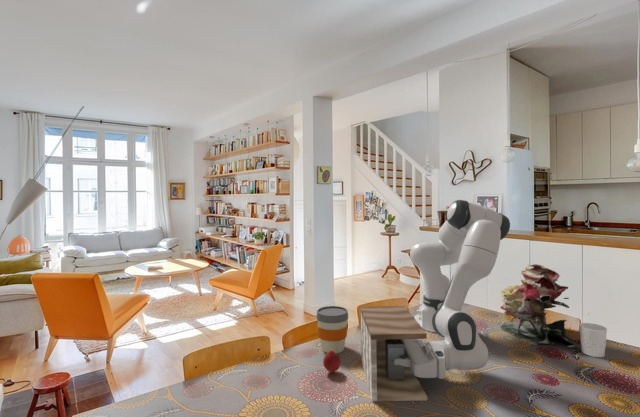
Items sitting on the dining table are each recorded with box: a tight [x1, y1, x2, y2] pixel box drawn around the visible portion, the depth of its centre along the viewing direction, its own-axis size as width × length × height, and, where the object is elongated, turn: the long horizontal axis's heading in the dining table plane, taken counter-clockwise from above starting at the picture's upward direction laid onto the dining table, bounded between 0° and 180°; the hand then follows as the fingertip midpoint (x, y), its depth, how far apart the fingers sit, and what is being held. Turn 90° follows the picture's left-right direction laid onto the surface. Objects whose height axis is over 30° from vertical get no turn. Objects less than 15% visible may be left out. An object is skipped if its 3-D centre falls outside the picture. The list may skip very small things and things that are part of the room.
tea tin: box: [385, 339, 405, 379], centre depth 110 cm, size 5×5×11 cm
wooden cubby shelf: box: [360, 305, 428, 402], centre depth 112 cm, size 26×16×20 cm, turn 0°
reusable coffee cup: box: [316, 305, 349, 354], centre depth 135 cm, size 13×13×15 cm
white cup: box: [579, 322, 608, 358], centre depth 127 cm, size 8×8×10 cm
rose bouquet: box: [500, 263, 589, 350], centre depth 146 cm, size 26×29×30 cm
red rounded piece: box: [322, 349, 341, 374], centre depth 116 cm, size 6×6×8 cm
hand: (391, 356), depth 110 cm, fingers closed on tea tin, 5 cm apart
